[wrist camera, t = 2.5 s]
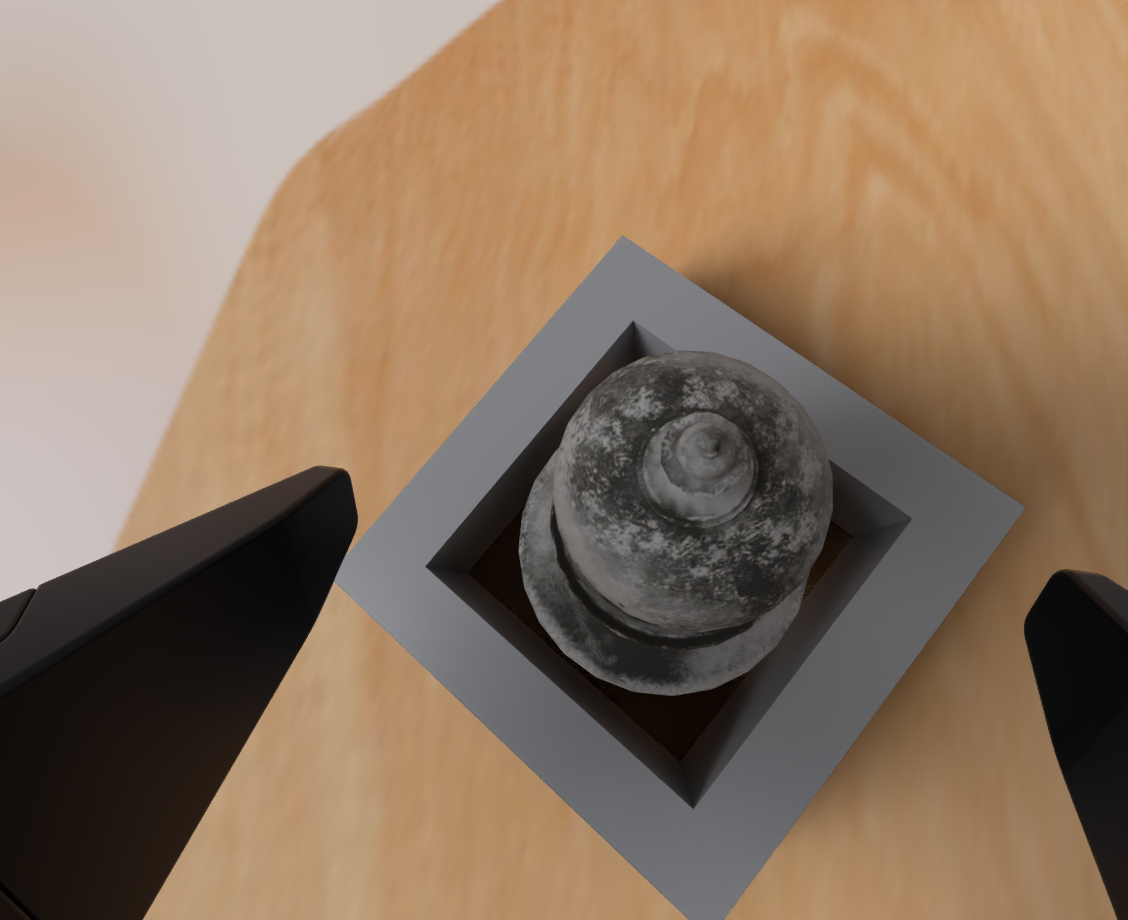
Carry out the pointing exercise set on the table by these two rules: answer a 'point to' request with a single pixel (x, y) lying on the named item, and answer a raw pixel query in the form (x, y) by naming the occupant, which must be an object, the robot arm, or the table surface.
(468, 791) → the table surface
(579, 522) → the salt shaker
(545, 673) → the socket block
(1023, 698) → the table surface
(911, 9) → the table surface
